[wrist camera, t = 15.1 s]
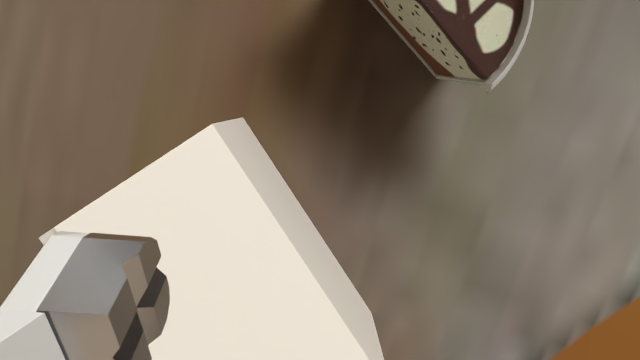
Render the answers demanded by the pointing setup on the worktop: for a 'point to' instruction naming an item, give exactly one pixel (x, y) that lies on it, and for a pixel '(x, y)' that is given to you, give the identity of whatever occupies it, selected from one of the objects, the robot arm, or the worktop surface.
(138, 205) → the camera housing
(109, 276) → the robot arm
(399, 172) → the worktop surface
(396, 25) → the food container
